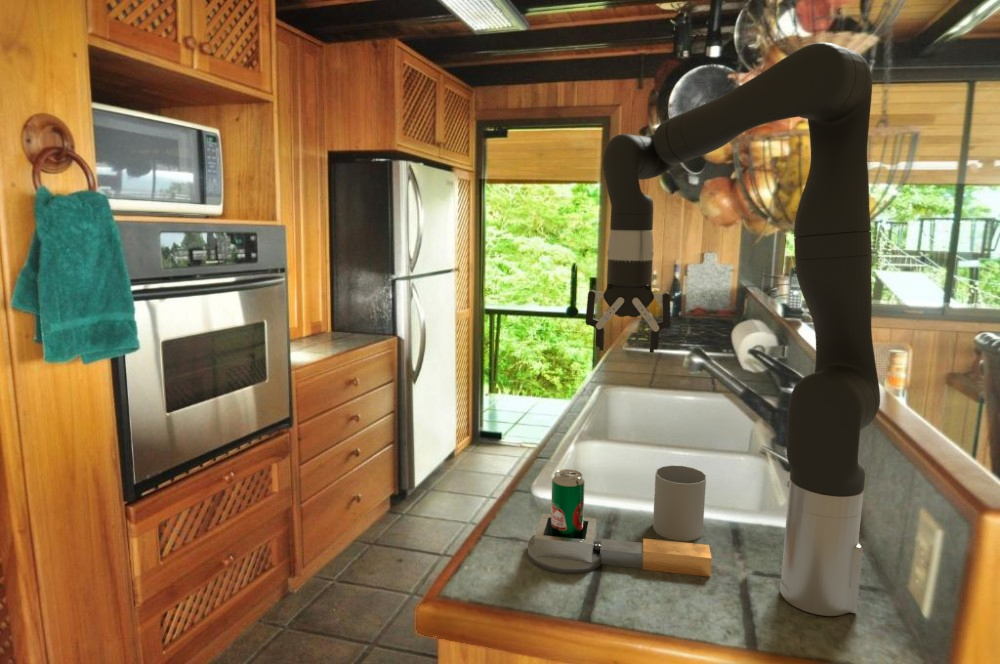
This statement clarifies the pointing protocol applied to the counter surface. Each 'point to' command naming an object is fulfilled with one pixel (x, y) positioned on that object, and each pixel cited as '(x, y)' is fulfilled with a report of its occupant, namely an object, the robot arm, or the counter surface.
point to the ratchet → (613, 552)
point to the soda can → (567, 504)
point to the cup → (679, 502)
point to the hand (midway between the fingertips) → (626, 350)
